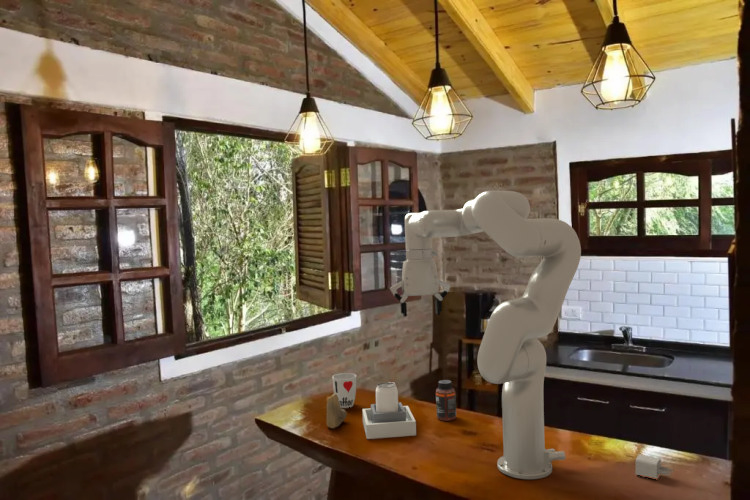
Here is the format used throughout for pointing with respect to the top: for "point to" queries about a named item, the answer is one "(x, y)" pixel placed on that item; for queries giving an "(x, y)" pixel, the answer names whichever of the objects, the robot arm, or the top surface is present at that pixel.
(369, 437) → the inlet box
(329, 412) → the stone
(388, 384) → the can
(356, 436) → the top surface
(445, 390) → the supplement bottle
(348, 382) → the cup
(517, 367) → the robot arm
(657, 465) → the usb wall charger
